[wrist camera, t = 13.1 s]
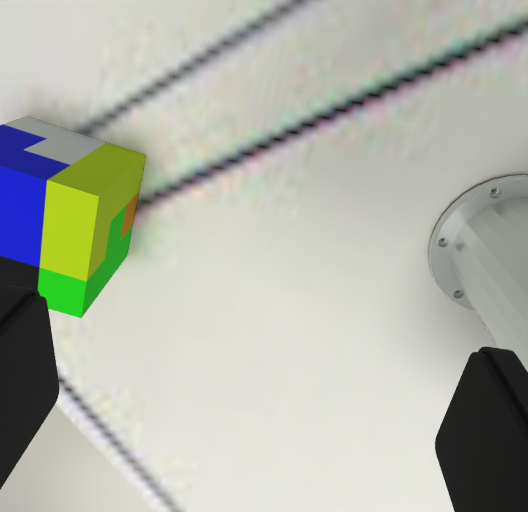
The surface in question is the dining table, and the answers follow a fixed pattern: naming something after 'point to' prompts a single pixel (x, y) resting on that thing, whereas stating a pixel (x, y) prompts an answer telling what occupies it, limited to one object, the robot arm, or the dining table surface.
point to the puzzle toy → (64, 211)
